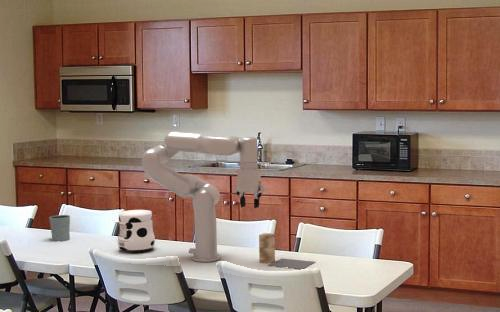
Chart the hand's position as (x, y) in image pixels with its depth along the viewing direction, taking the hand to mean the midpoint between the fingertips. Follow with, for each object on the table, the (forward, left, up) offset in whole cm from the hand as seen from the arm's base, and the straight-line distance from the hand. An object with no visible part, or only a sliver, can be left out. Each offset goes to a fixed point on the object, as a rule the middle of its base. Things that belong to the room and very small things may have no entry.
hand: (249, 206), depth 328 cm
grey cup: (-110, +2, -24) cm, 113 cm away
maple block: (+8, 0, -24) cm, 25 cm away
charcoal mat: (+20, 0, -24) cm, 31 cm away
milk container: (-59, -3, -24) cm, 64 cm away
